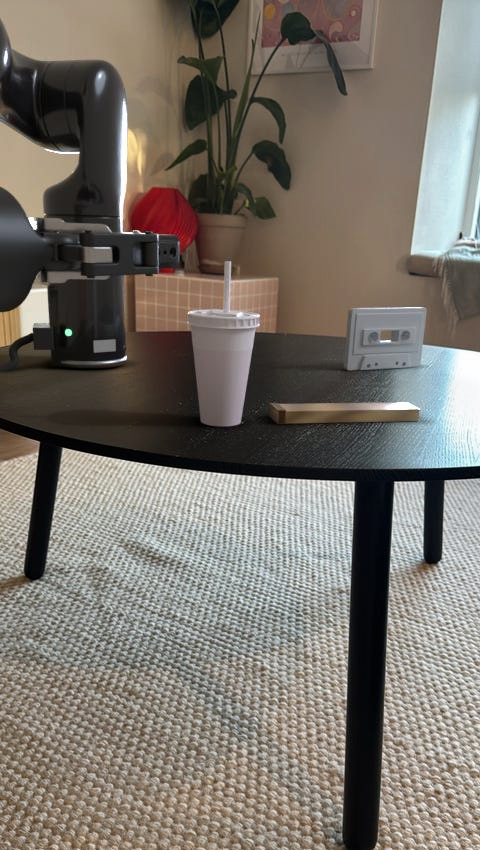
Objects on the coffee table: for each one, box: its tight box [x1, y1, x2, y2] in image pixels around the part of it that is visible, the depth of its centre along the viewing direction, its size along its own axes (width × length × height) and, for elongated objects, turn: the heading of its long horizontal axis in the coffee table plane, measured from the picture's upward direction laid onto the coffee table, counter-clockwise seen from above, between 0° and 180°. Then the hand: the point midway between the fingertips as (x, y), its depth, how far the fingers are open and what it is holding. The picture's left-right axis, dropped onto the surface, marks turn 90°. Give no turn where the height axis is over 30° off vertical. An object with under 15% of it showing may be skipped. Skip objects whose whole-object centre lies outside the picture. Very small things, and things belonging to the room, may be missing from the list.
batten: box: [269, 401, 421, 425], centre depth 72 cm, size 14×3×1 cm, turn 102°
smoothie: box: [186, 260, 260, 427], centre depth 67 cm, size 6×6×14 cm
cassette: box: [343, 306, 428, 372], centre depth 98 cm, size 12×2×8 cm, turn 116°
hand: (133, 248), depth 56 cm, fingers open, 8 cm apart
